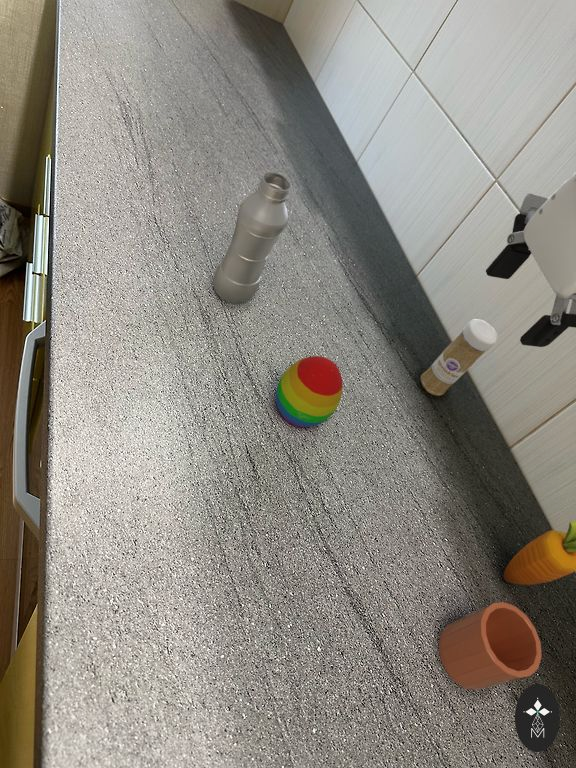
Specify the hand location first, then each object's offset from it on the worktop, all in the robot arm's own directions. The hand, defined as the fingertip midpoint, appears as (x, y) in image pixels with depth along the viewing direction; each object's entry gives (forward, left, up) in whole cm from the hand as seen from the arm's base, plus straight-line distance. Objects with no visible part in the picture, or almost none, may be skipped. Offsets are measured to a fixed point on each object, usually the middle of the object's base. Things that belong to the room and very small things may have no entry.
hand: (513, 308), depth 62 cm
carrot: (-10, +22, -26) cm, 35 cm away
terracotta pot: (0, +30, -26) cm, 39 cm away
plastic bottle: (+22, -22, -26) cm, 41 cm away
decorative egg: (+15, -2, -26) cm, 30 cm away
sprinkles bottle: (-9, -8, -26) cm, 29 cm away
